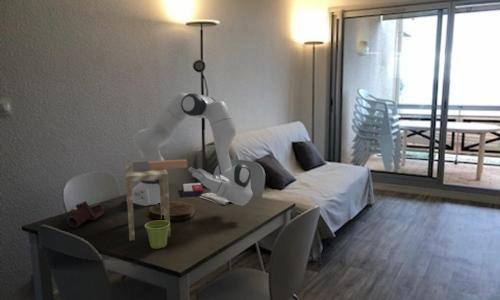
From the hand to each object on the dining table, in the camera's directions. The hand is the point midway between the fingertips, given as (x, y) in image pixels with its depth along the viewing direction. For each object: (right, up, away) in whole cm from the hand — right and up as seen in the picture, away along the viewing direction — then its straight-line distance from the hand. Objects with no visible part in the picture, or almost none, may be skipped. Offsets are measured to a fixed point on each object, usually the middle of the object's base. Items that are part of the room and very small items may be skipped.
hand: (190, 171), depth 176 cm
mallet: (-13, +1, -4) cm, 14 cm away
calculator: (-7, -16, +56) cm, 59 cm away
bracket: (-48, -24, +9) cm, 54 cm away
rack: (-18, -25, -1) cm, 30 cm away
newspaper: (+9, -18, +42) cm, 47 cm away
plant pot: (-10, -28, -19) cm, 35 cm away
